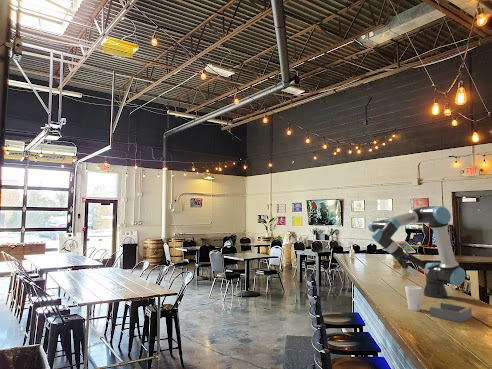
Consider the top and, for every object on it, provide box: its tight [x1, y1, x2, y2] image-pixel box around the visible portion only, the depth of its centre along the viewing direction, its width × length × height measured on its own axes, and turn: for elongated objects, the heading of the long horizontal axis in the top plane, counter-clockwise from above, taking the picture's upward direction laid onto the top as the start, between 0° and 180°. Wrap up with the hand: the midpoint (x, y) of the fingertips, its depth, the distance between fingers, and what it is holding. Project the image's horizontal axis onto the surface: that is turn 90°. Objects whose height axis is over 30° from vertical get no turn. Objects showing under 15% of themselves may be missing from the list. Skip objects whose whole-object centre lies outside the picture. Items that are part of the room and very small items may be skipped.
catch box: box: [429, 302, 473, 323], centre depth 203 cm, size 16×16×6 cm
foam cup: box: [404, 285, 423, 312], centre depth 218 cm, size 10×9×13 cm
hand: (422, 273), depth 222 cm, fingers open, 13 cm apart
